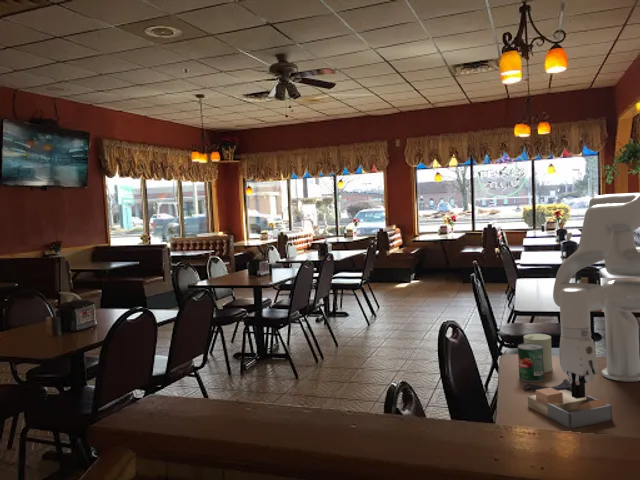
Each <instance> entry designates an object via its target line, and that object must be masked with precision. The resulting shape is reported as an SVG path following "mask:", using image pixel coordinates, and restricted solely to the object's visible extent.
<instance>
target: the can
mask: <svg viewBox="0 0 640 480" xmlns="http://www.w3.org/2000/svg"><path fill="white" fill-rule="evenodd" d="M522 338H523V344H525V343H534V344H540V345H542V346H543V365H544V374H545V373H550V372H552V371H554V367H553V355H552V335H549V334H545V333H544V334H543V333H529V334H525V335H523V337H522Z"/></svg>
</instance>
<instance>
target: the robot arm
mask: <svg viewBox="0 0 640 480" xmlns="http://www.w3.org/2000/svg"><path fill="white" fill-rule="evenodd" d="M588 203H589V205H588V206H589V207H588V208H587V209H586V211H585V212H584V213H585V214H584V217H583V222H582V228H581V233H580V236H579V237H580V238H579V242H578V248H577V250H576V251H575V252H573V253H572V254H571V255H569V256H568V257H567V258H566V259H565V260H564V261H563V262H562V264H561V265H560V267H559V268H558V270H557V273H556V275H555V280H554V285H553V290H552V298H553V301H554V302H553V303H555V305H556V306H558V308H559V315H560V318H559V319H560V338H559V340H560V341H559V349H558V351H559V353H558V355H559V357H558V359H559V365H560V367H561V369H562V372H564V373H565V374H566V375H567V377H568V381H569V382H570V383H571V391H572V397H575V398H576V399H578V398H586V384H587V382H593V381H594V375H597V374H598V370H599V369H598V366H599V365H598V357H597V350H596V346H595V342H594V339H592V331H591V312H596V311H597V312H598V311H601V310H603V313H604V325H605V326H604V328H605V329H604V330H605V351H606V352H605V353H606V355H605V356H606V357H605V358H606V367H605V368H603V369H602V370H601V375H602V376H603V377H605V378H606V379H609V380H612V381H616V382H617V381H618V382H627V383H630V382H632V383H633V382H640V338H639V337H640V336H639V335H640V334H639V322H638V320H637V319H636V317H635V315H634V314H633V312H632V311H634V312H635V311H636V312H640V280H631V279H630V280H627V279H624V280H623V279H611V280H608V281H606V282H604V283H603V284H602V285H601V284H597V283H596V284H595V283H585V282H571V280H572V277H573V276H574V275H575V274H576V273H577V272H579V271H581V270H582V269H585V268H586V267H589V266H592V265H594V264H597V263H599V262H600V263H601V262H602V261H604V267H605V270H606V272H607V273H608V274H609V275H611V276H615V277H616V276H617V277H636V278H640V246H636V245H635V235H634V234H635V232H634V231H636V230H638V229H639V228H640V192H628V193H624V192H623V193H608V194H600V195H595V196H593V197H592V198H591V199H590V200H589V202H588Z"/></svg>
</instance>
